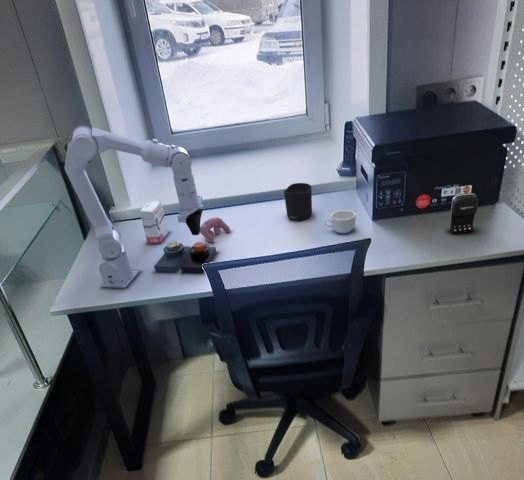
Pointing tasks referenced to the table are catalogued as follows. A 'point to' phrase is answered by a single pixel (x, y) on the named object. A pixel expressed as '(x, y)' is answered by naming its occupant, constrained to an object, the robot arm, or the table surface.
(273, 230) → the table surface
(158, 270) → the left box
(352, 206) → the table surface
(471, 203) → the battery charger
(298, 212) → the pen holder
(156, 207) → the ink box
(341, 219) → the teacup
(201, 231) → the pink curved piece
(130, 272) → the robot arm
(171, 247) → the left button
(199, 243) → the right button
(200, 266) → the right box
